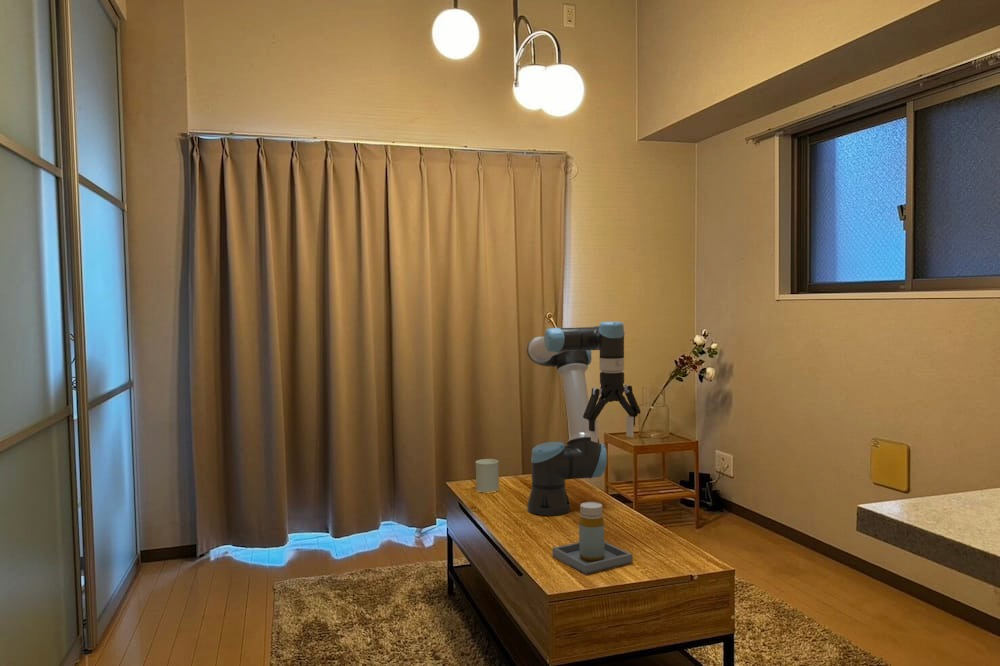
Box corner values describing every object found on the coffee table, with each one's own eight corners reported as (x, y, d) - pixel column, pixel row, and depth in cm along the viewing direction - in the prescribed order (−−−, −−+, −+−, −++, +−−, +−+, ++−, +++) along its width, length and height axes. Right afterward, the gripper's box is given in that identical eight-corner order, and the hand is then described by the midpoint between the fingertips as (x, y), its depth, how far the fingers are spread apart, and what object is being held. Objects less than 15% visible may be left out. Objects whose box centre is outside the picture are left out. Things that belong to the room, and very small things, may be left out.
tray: (552, 556, 197) (552, 548, 197) (597, 546, 205) (597, 538, 204) (585, 575, 183) (585, 565, 183) (632, 563, 190) (632, 554, 190)
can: (499, 493, 266) (498, 462, 265) (475, 493, 266) (475, 463, 265) (499, 487, 275) (498, 457, 275) (476, 487, 275) (475, 457, 274)
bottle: (589, 563, 189) (588, 510, 188) (574, 556, 195) (574, 503, 195) (609, 559, 192) (608, 506, 192) (595, 551, 198) (594, 500, 198)
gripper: (585, 375, 204) (585, 445, 205) (651, 369, 215) (651, 436, 216) (571, 372, 211) (572, 441, 212) (636, 367, 222) (636, 432, 223)
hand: (612, 439), depth 214 cm, fingers open, 13 cm apart
